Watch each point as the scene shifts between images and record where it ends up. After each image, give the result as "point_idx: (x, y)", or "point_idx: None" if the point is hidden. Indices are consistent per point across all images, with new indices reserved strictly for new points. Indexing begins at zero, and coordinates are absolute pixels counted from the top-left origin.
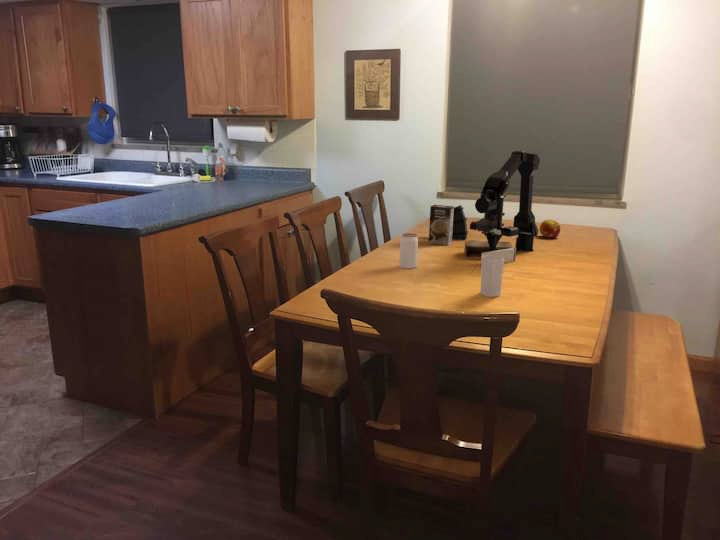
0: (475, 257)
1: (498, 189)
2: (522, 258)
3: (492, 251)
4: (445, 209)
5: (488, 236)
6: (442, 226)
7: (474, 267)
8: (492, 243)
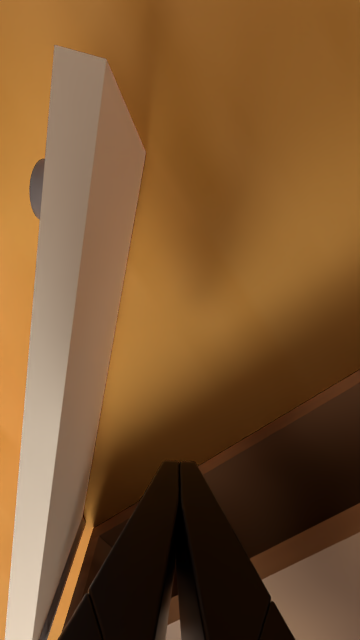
0: (354, 381)
1: None
2: None
3: (51, 354)
4: None
5: None
6: None
7: (151, 14)
8: (129, 576)
